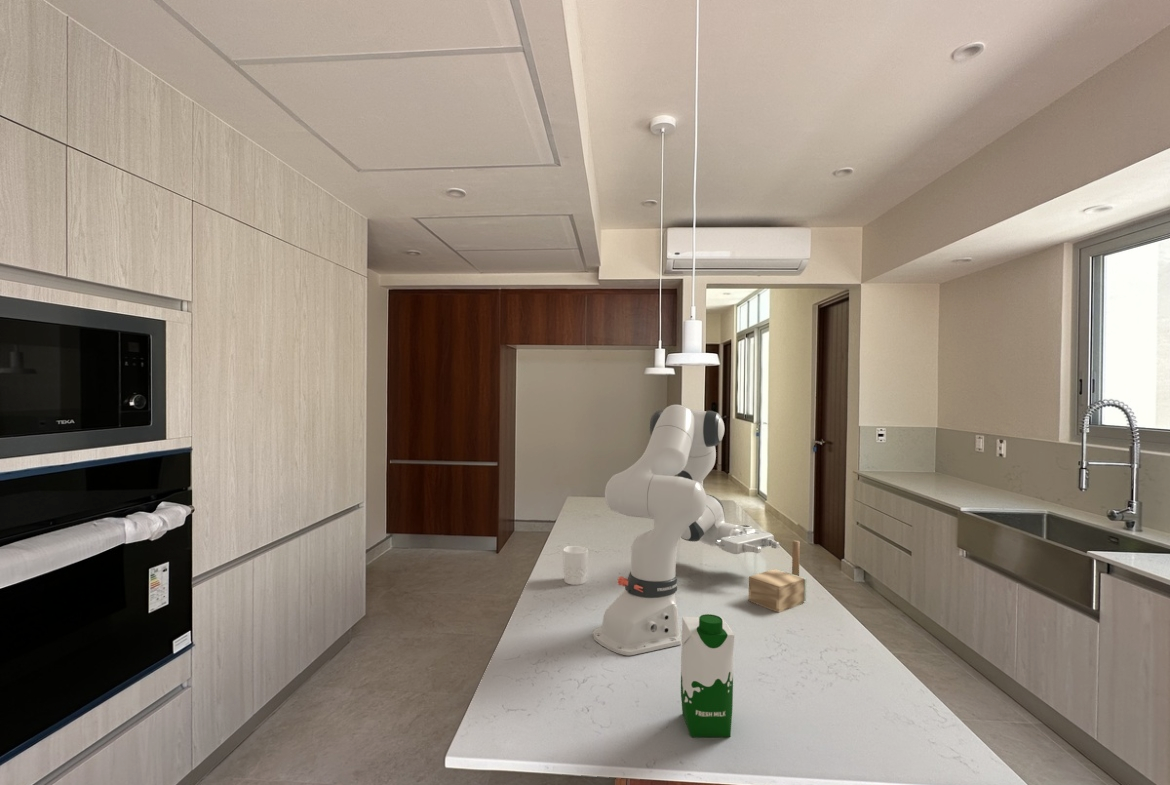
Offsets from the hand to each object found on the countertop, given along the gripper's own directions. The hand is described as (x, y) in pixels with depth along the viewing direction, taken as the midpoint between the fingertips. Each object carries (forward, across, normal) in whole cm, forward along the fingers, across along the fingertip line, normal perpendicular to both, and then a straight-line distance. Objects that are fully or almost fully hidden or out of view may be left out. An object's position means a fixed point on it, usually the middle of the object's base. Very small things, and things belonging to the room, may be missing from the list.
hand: (768, 547), depth 172 cm
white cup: (-37, -47, +12) cm, 61 cm away
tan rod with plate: (+9, -7, +11) cm, 16 cm away
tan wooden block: (+9, -9, +12) cm, 18 cm away
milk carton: (+37, -71, +12) cm, 81 cm away
